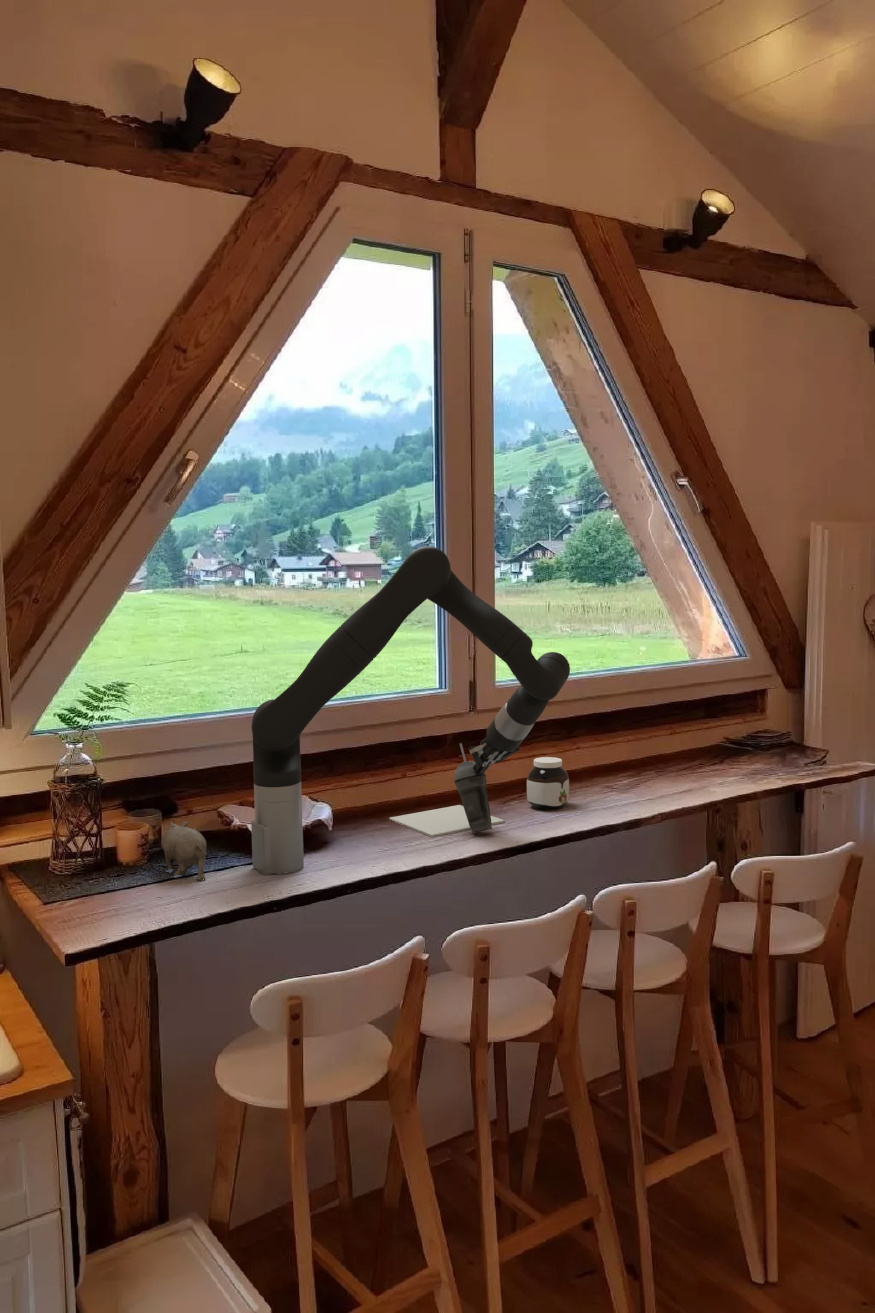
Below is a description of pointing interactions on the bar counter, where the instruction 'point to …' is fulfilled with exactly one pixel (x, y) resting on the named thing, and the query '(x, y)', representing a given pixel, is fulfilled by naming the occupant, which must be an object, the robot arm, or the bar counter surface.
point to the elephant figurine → (184, 848)
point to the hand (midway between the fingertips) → (477, 771)
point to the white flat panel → (439, 821)
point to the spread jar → (548, 784)
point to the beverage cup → (473, 795)
